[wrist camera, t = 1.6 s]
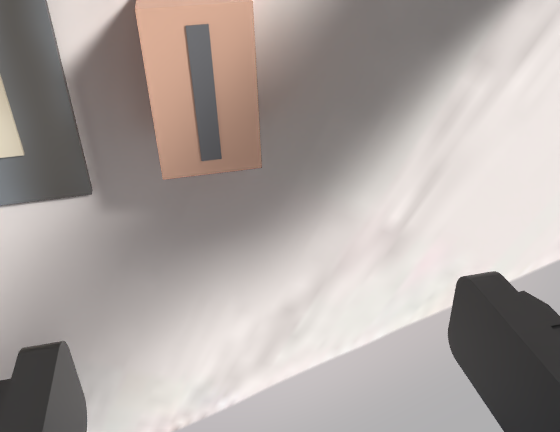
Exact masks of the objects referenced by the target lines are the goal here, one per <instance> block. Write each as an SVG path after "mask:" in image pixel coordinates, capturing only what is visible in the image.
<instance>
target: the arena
mask: <svg viewBox="0 0 560 432" xmlns="http://www.w3.org/2000/svg"><path fill="white" fill-rule="evenodd" d="M92 191H93V190H92V186H91V182H90V178H89V174H88V170H87V166H86V162H85V157H84V153H83V149H82V145H81V141H80V137H79V133H78V129H77V125H76V120H75V116H74V112H73V108H72V104H71V100H70V96H69V92H68V88H67V83H66V79H65V75H64V71H63V67H62V63H61V59H60V55H59V50H58V46H57V42H56V38H55V34H54V30H53V26H52V22H51V18H50V13H49V9H48V5H47V1H46V0H0V205H8V204H16V203H25V202H33V201H41V200H49V199H57V198H66V197H74V196H82V195H90V194H92Z"/></svg>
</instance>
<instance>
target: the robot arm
mask: <svg viewBox="0 0 560 432" xmlns="http://www.w3.org/2000/svg"><path fill="white" fill-rule="evenodd" d="M448 340H449V345H450V348H451V351H452V354H453V355H454V358H455V359H456V361H457V362H458V364H459V365H460V367H461V368H462V370H463V371H464V373H465V374H466V376H467V377H468V379H469V380H470V382H471V383H472V384H473V386H474V388H475V389H476V391H477V392H478V394H479V395H480V396H481V398H482V400H483V401H484V402H485V404H486V405H487V407H488V408H489V410H490V411H491V413H492V414H493V416H494V417H495V419H496V420H497V422H498V423H499V425H500V426H501V428H502V429H503V431H504V432H560V316H559V315H558V314H557V313H556V312H555V311H554V310H553V309H552V308H551V307H550V306H549V305H548V304H546V303H544V302H542V301H541V300H539V299H537V298H536V297H534V296H532V295H530V294H529V293H527V292H525V291H521V292H518V291H517V290H516V289H515V288H514V287H513V286H512V285H511V284H510V283H509V282H508V281H507V280H506V279H505V278H504V277H503V276H502V275H501V274H500V273H498V272H494V271H493V272H487V273H481V274H475V275H469V276H463V277H460V278H459V280H458V281H457V284H456V289H455V294H454V300H453V306H452V312H451V317H450V322H449V328H448ZM86 430H87V410H86V402H85V397H84V393H83V390H82V387H81V384H80V381H79V378H78V375H77V372H76V369H75V366H74V363H73V360H72V356H71V353H70V350H69V348H68V345H67V344H66V342H64V341H62V342H56V343H50V344H44V345H37V346H31V347H25V348H22V349H21V350H20V352H19V354H18V357H17V360H16V364H15V367H14V371H13V374H12V378H11V379H7V380H1V381H0V432H86Z"/></svg>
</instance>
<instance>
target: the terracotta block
mask: <svg viewBox="0 0 560 432" xmlns="http://www.w3.org/2000/svg"><path fill="white" fill-rule="evenodd" d="M135 13H136V19H137V25H138V31H139V37H140V44H141V50H142V56H143V62H144V68H145V74H146V80H147V86H148V92H149V99H150V105H151V111H152V117H153V123H154V129H155V135H156V141H157V147H158V154H159V160H160V166H161V172H162V178H163V180H165V179H174V178H182V177H190V176H198V175H207V174H215V173H223V172H231V171H240V170H248V169H256V168H262V163H261V144H260V126H259V107H258V89H257V71H256V52H255V34H254V16H253V1H252V0H136V5H135Z"/></svg>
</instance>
